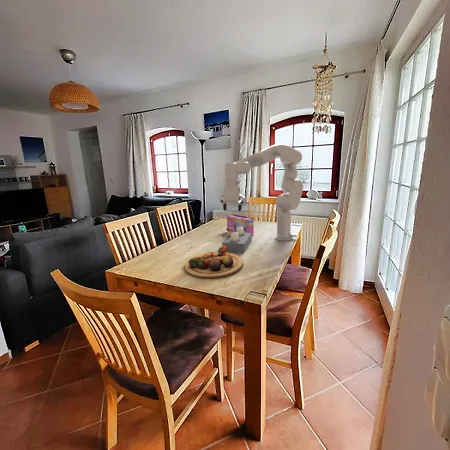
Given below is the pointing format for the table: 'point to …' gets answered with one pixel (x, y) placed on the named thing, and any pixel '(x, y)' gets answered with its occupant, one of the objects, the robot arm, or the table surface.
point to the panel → (238, 243)
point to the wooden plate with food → (214, 264)
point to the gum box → (240, 223)
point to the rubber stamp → (228, 232)
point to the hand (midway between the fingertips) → (232, 210)
